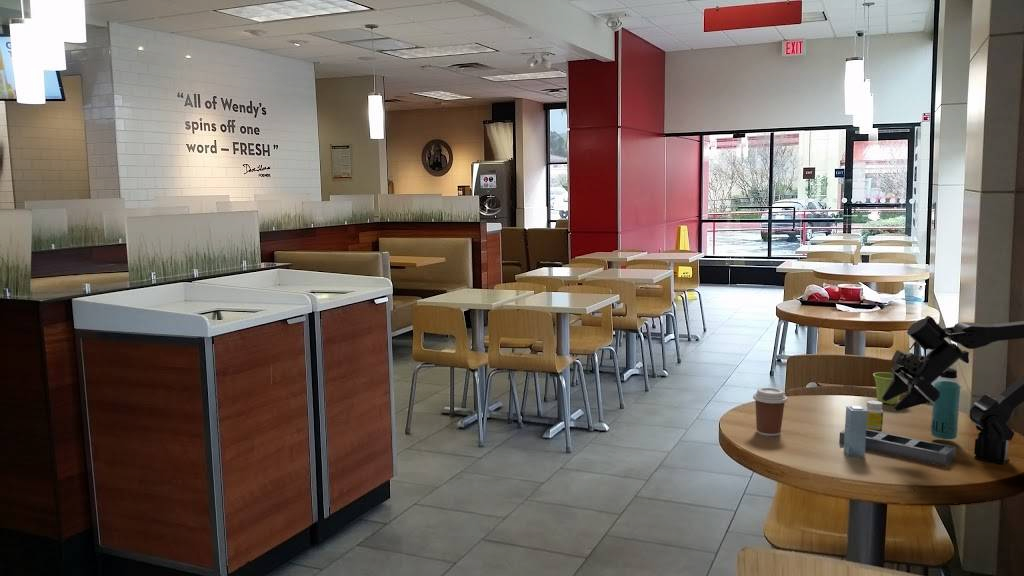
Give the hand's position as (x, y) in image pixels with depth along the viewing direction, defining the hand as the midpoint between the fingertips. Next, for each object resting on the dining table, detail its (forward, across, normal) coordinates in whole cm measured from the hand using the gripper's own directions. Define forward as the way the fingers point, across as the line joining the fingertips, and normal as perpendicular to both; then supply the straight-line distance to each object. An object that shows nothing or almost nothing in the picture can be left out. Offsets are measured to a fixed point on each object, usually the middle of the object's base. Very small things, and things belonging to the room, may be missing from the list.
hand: (889, 404), depth 208 cm
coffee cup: (+28, -15, -10) cm, 33 cm away
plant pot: (-2, -52, +22) cm, 57 cm away
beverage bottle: (-3, -13, +23) cm, 27 cm away
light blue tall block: (+15, +1, +3) cm, 15 cm away
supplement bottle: (+8, -20, +11) cm, 24 cm away
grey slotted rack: (+7, -3, +12) cm, 14 cm away
